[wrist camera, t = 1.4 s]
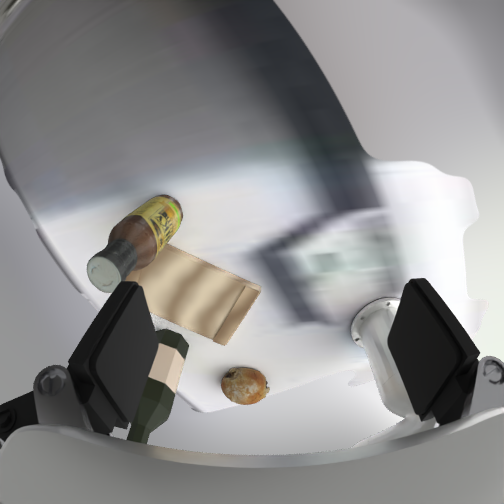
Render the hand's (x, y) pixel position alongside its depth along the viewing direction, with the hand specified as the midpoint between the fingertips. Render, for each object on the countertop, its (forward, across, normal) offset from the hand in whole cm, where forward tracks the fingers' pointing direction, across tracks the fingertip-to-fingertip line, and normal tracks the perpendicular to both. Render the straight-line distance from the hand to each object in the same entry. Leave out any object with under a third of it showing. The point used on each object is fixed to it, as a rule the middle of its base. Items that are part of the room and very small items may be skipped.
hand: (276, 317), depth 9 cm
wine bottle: (+32, +19, +35) cm, 51 cm away
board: (+32, +14, +21) cm, 41 cm away
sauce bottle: (+32, +15, +7) cm, 36 cm away
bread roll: (+32, +4, +46) cm, 56 cm away
